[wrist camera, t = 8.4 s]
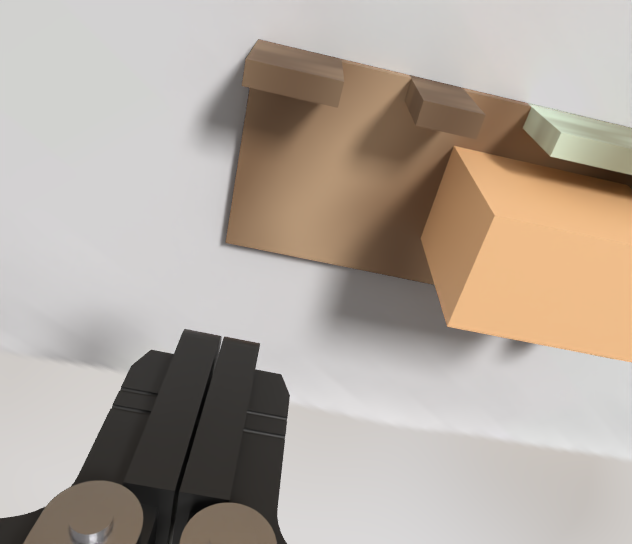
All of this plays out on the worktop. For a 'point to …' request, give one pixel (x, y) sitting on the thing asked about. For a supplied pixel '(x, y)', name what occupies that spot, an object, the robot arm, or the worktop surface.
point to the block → (533, 254)
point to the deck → (380, 156)
